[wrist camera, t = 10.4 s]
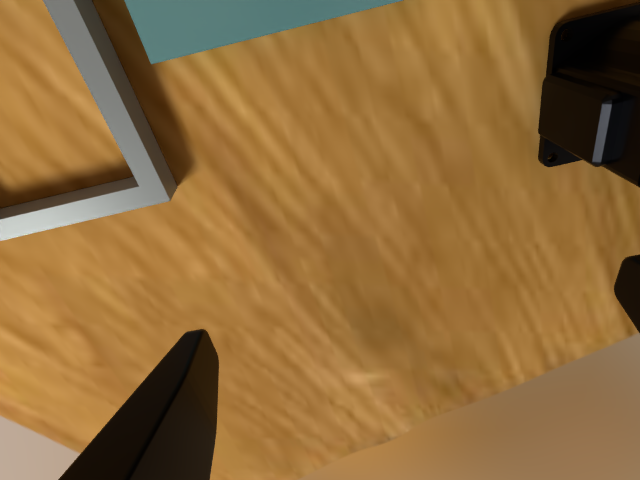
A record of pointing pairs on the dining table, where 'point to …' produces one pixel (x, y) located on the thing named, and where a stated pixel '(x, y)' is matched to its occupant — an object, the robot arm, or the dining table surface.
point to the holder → (123, 121)
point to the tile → (226, 21)
